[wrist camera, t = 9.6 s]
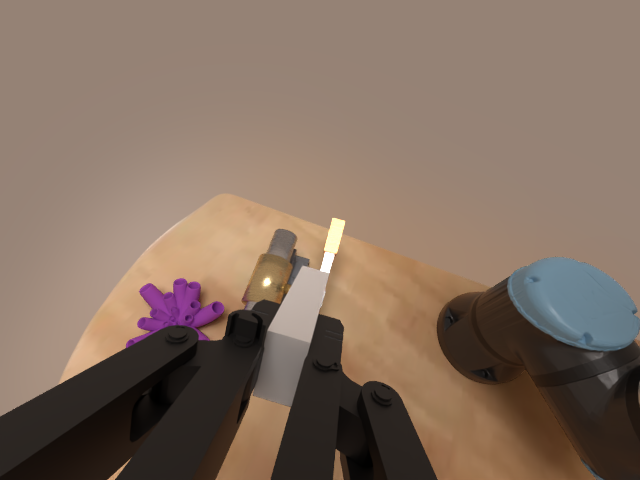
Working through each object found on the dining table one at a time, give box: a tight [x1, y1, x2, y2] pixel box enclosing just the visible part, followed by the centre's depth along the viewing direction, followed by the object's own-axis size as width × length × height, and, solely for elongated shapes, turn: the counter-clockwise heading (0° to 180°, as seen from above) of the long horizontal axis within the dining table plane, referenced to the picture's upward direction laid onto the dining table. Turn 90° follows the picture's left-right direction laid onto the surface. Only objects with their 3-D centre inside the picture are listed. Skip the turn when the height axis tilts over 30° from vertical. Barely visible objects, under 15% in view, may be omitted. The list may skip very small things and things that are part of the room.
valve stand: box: [242, 229, 310, 310], centre depth 50 cm, size 18×10×11 cm, turn 165°
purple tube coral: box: [126, 278, 224, 348], centre depth 48 cm, size 11×15×10 cm
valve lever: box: [320, 218, 345, 308], centre depth 49 cm, size 3×2×14 cm
